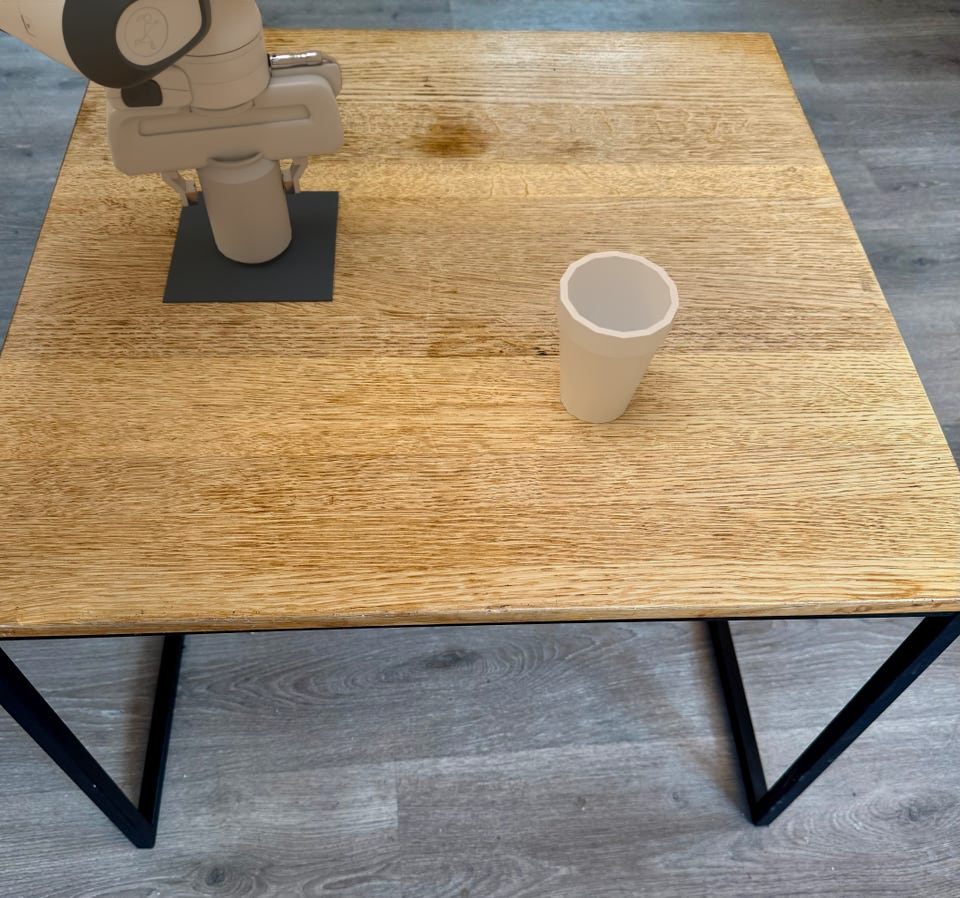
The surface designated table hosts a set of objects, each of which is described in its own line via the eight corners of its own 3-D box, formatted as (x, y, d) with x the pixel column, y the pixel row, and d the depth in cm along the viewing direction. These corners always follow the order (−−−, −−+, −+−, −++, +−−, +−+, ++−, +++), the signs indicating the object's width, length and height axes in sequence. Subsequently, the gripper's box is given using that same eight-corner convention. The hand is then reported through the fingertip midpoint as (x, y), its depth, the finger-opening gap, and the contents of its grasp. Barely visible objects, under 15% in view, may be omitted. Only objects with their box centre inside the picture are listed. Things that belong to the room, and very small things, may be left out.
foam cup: (665, 393, 80) (701, 290, 69) (607, 455, 75) (636, 357, 65) (581, 340, 83) (603, 234, 72) (521, 397, 79) (535, 294, 68)
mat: (162, 302, 83) (162, 301, 83) (185, 192, 92) (185, 191, 92) (332, 301, 84) (332, 299, 84) (338, 192, 94) (338, 191, 93)
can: (221, 274, 86) (194, 173, 76) (213, 224, 90) (186, 121, 80) (298, 262, 87) (281, 161, 77) (286, 213, 91) (269, 111, 81)
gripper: (333, 28, 76) (345, 163, 87) (85, 49, 72) (131, 186, 83) (345, 69, 72) (356, 204, 83) (84, 93, 68) (133, 231, 80)
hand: (242, 195), depth 83 cm, fingers open, 8 cm apart
